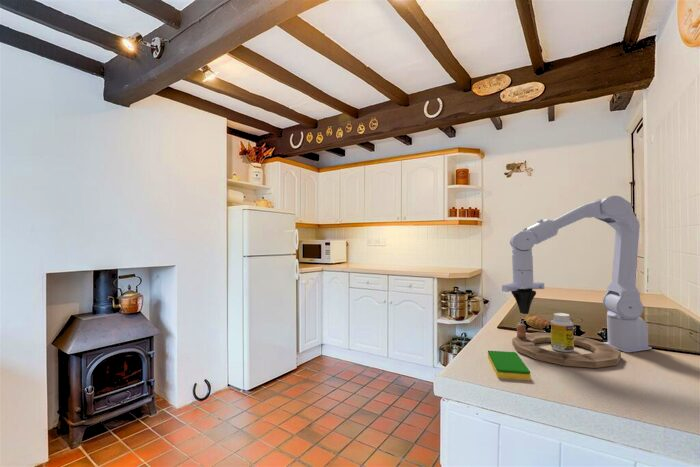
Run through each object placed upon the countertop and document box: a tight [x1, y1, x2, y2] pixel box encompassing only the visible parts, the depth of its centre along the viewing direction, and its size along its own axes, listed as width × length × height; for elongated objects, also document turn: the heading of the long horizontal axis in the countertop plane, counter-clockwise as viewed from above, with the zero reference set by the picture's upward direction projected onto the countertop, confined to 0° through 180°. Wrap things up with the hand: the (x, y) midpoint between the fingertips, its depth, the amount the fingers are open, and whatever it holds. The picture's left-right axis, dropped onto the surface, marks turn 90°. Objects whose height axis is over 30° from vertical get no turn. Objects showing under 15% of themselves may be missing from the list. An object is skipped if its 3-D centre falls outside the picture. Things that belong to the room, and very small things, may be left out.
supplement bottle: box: [550, 312, 575, 353], centre depth 96 cm, size 6×6×10 cm
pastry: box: [523, 314, 551, 330], centre depth 121 cm, size 9×7×4 cm
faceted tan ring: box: [512, 323, 622, 369], centre depth 95 cm, size 25×25×6 cm
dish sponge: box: [487, 350, 532, 381], centre depth 84 cm, size 7×14×2 cm, turn 166°
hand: (524, 313), depth 104 cm, fingers closed
